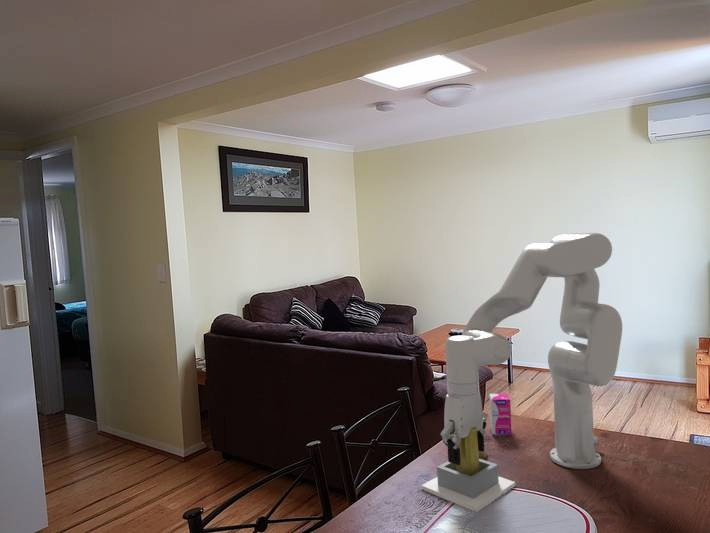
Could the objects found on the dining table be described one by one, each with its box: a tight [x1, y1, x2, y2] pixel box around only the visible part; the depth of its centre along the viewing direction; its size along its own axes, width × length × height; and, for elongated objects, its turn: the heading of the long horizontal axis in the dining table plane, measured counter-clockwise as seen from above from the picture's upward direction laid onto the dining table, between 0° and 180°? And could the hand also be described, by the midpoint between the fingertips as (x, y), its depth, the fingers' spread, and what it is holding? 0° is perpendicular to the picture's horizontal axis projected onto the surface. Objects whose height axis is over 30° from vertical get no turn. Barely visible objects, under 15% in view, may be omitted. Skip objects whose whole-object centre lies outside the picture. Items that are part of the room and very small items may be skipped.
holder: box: [421, 459, 516, 513], centre depth 127 cm, size 16×16×6 cm
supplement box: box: [488, 393, 513, 437], centre depth 159 cm, size 6×6×12 cm
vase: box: [454, 427, 480, 476], centre depth 126 cm, size 6×6×14 cm
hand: (466, 456), depth 126 cm, fingers open, 9 cm apart
